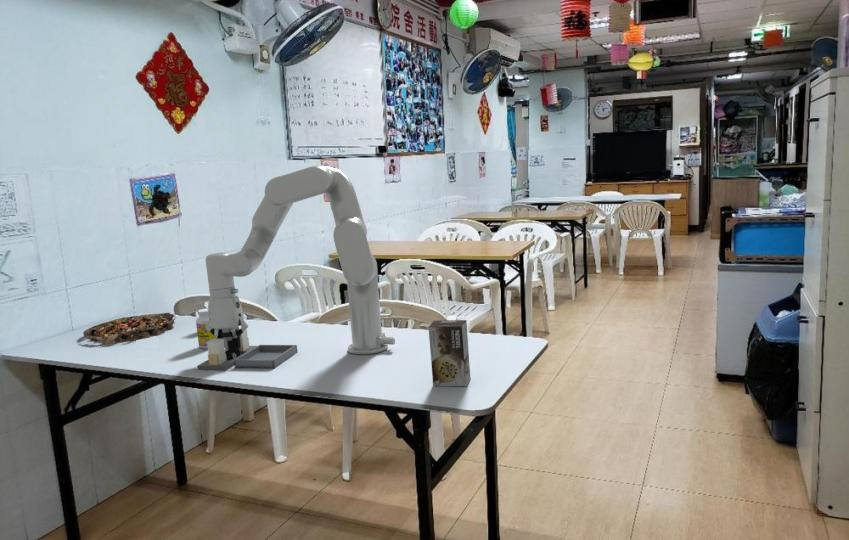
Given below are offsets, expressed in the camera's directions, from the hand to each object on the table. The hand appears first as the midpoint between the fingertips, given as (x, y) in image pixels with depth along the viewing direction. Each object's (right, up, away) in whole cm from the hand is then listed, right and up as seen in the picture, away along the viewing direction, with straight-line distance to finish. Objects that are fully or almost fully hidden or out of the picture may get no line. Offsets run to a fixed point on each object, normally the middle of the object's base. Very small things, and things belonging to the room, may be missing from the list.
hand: (229, 348), depth 205 cm
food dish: (-51, 0, +47) cm, 69 cm away
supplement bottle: (-12, -2, +17) cm, 21 cm away
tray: (+13, -3, -3) cm, 13 cm away
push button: (0, -4, +1) cm, 4 cm away
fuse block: (0, -3, +1) cm, 3 cm away
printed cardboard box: (+69, -5, -35) cm, 77 cm away
